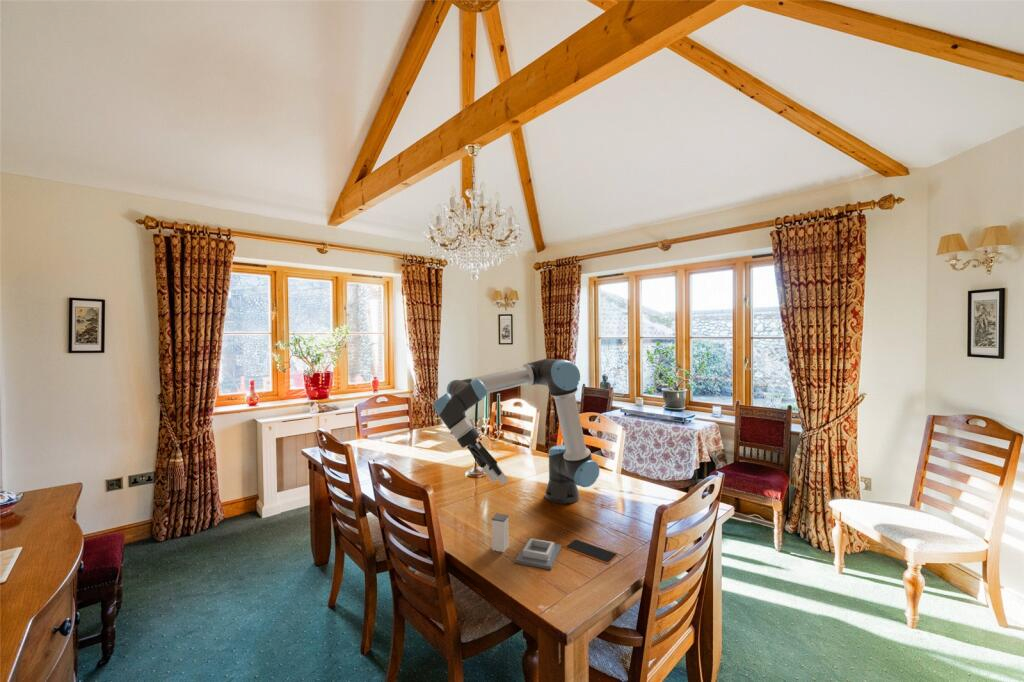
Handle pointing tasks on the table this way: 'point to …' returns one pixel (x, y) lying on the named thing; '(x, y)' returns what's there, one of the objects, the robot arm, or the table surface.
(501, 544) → the block
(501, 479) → the robot arm
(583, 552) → the smartphone
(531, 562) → the dock
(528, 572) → the table surface
